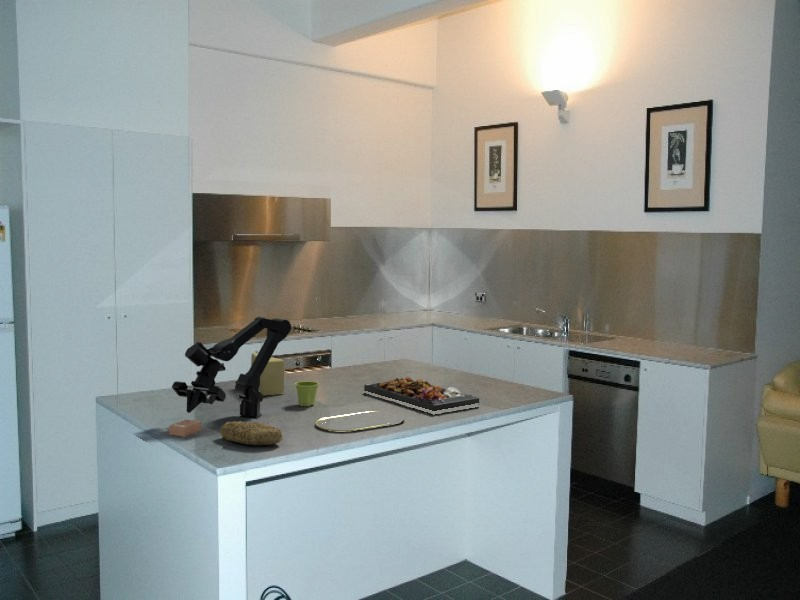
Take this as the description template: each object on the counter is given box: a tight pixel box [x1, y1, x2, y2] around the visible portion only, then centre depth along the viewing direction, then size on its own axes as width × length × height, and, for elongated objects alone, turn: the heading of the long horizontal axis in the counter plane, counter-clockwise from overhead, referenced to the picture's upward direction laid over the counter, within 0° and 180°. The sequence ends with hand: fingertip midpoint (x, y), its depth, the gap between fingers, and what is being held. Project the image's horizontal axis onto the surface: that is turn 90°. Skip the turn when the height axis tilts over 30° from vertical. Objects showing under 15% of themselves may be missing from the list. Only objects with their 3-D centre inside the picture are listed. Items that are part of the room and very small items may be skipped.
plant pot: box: [294, 380, 320, 407], centre depth 293 cm, size 9×9×9 cm
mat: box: [165, 424, 220, 440], centre depth 249 cm, size 16×12×1 cm
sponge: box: [219, 420, 284, 446], centre depth 239 cm, size 13×8×20 cm
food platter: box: [363, 376, 480, 411], centre depth 308 cm, size 45×25×10 cm, turn 39°
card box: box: [168, 419, 202, 438], centre depth 246 cm, size 3×6×9 cm
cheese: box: [250, 352, 286, 397], centre depth 317 cm, size 22×10×15 cm, turn 35°
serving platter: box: [315, 410, 388, 431], centre depth 268 cm, size 19×35×2 cm, turn 126°
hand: (188, 412), depth 248 cm, fingers closed
